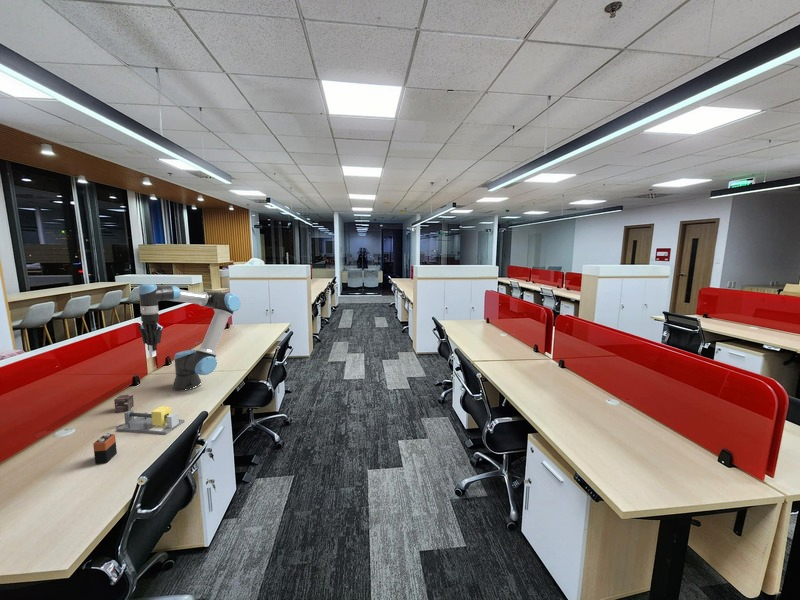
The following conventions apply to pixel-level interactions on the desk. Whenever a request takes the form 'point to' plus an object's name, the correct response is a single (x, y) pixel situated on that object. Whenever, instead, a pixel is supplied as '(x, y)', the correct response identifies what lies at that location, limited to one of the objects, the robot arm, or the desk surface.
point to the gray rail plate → (148, 423)
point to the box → (124, 403)
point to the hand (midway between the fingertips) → (152, 356)
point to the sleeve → (160, 415)
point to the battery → (105, 448)
